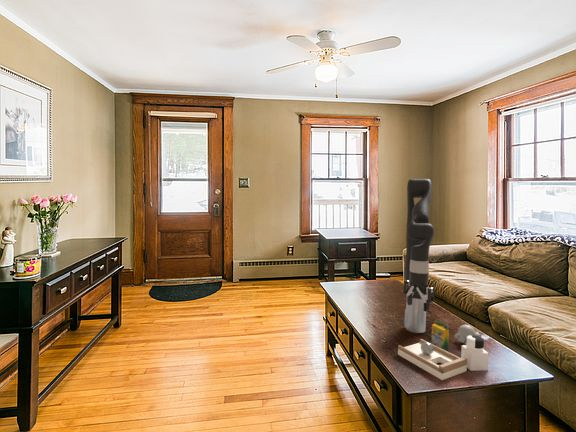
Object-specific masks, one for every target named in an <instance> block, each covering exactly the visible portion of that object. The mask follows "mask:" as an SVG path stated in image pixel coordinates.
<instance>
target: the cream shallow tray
mask: <svg viewBox="0 0 576 432" xmlns="http://www.w3.org/2000/svg"><path fill="white" fill-rule="evenodd" d="M424 342H428V341H427V340H426V339H425V340H424V339H422V338H420V339H419V342H417V343H414V344H410V345H407V346H402V345H401V344H399V345H398V346H397V355H398V356H399V357H401V358H403V359H405V360H407V361H408V362H410V363H412V364H414V365H415V366H417V367H419V368H420V369H421V370H424V371H426V372H427V373H429V374H431V375H432V376H434V377H436V378H437V379H440V381H445V380H447V379H450V378H452V377H454V376H457V375H460V374H463V373H465V372H467V369H468V368H467V358H465V357H462V358H461V356H460V357H459V356H457V355H456V354H453V353H451V352H449V351H445V350H443V349H441V348H439V347H437V346H435V345H433V344H432V346H433V348H434V351H433V353H432V354H431V355H425V354H424V353H423V352H422V351H421V345H422V343H424ZM429 343H430V344H431V342H429ZM439 363H440V364H439Z"/></svg>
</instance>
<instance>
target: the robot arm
mask: <svg viewBox="0 0 576 432" xmlns="http://www.w3.org/2000/svg"><path fill="white" fill-rule="evenodd" d="M406 191H407V192H406V195H407V197H406V198H407V200H406V201H407V202H406V203H407V215H406V216H407V218H406V232H405V233H406V237H405V238H406V239H405V240H406V241H405V242H406V244H405V245H406V251H405V262H404V270H403V271H404V272H403V273H404V274H403V276H404V277H403V278H404V281H403V291H402V292H403V295H406V308H405V309H404V322H403V323H404V326H403V327H404V328H405V330H407V331H408V332H410V333H414V334H423V333H425V332H426V322H427V321H426V320H427V318H426V317H427V312H428V311H429V310H430V303H434V302H435V288H434V287H429V286H428V282H429V275H430V274H429V271H430V264H429V257H430V256H429V253H430V252H429V251H430V246H431V243H432V240H433V238H434V234H435V228H434V225H433V224H431V223H429V222H430V204H431V201H432V193H433V183H432V181H431V179H429V178H410V179H409V180H408V181H407V184H406ZM415 199H420V200H418V201H417V202H416V203H415Z"/></svg>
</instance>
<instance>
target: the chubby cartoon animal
mask: <svg viewBox="0 0 576 432" xmlns="http://www.w3.org/2000/svg"><path fill="white" fill-rule="evenodd" d="M479 332H480V331H479V330H477V331H476V329H475V328H474V327H473V326H472V325H471V324H470V325H469V324H462V325H460V326H459V327H458V329H457V332H456V333H455V334H454V335H453V337H454V339H456V340H457V341H458V342H459V343H461V344H463V345H466V343H467V336H469V335H476V336H479V337H481V338H483V340H484V341H485V339H484V337H482V335H483V334H482V333H479Z"/></svg>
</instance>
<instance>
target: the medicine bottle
mask: <svg viewBox="0 0 576 432" xmlns="http://www.w3.org/2000/svg"><path fill="white" fill-rule="evenodd" d="M481 337H482V336H481ZM481 337H479V336H476V335H469V336H467V343H466V345H465V344H463V345H461V354H460V358H462V357H465V358H467V369H468V370H469V371H473V372H474V371H475V372H478V371H479V372H480V371H482V372H483V371H489V352H488V351H486V350H485V347H484V346H485V339H484V340H483V338H484V337H482V338H481Z"/></svg>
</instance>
